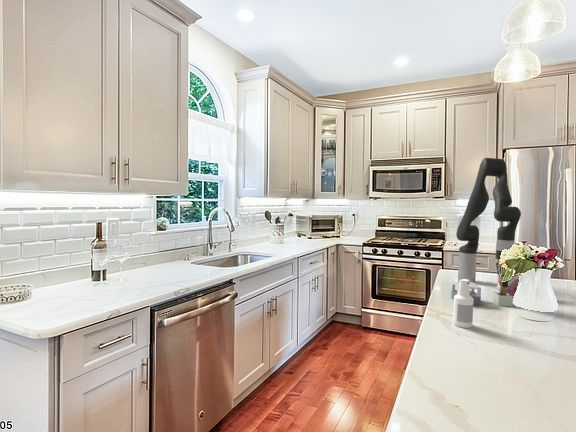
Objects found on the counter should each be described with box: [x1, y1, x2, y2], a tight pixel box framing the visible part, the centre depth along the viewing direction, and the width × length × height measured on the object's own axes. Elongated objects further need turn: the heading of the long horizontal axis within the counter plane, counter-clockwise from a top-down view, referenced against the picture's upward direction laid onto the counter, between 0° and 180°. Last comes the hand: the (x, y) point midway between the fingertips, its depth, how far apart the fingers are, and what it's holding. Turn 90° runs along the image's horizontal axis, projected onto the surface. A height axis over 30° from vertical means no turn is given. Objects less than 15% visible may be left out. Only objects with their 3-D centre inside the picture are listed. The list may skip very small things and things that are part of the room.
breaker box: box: [450, 280, 482, 306], centre depth 170 cm, size 10×10×8 cm
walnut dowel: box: [500, 273, 507, 296], centre depth 166 cm, size 3×3×13 cm
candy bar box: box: [496, 274, 519, 296], centre depth 180 cm, size 11×5×16 cm, turn 84°
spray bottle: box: [452, 279, 474, 329], centre depth 139 cm, size 7×7×18 cm
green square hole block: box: [492, 291, 514, 307], centre depth 166 cm, size 6×6×5 cm
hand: (503, 286), depth 166 cm, fingers closed on walnut dowel, 2 cm apart
